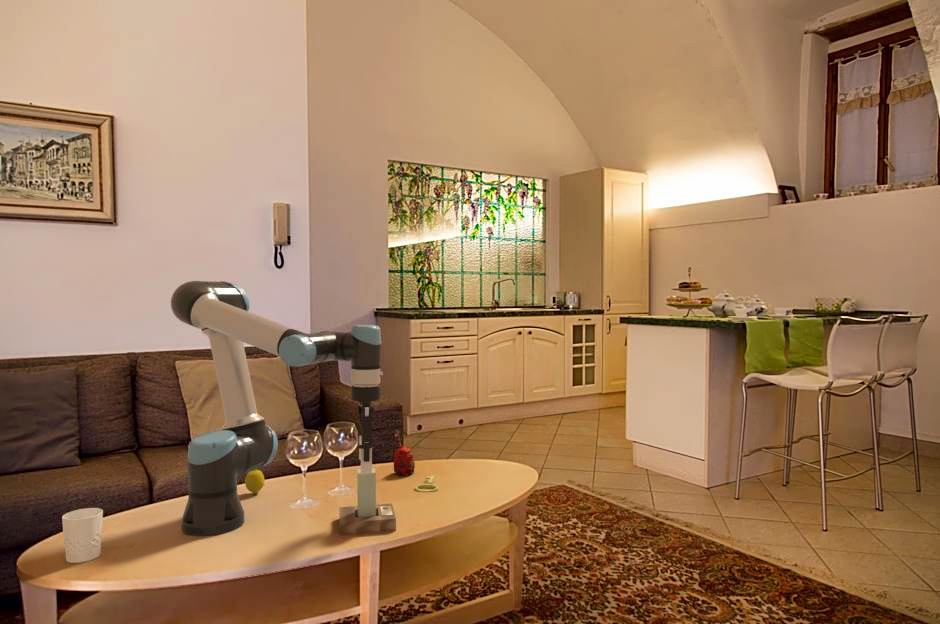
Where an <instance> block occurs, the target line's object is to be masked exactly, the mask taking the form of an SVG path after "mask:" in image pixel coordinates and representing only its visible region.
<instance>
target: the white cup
mask: <svg viewBox="0 0 940 624" xmlns="http://www.w3.org/2000/svg"><path fill="white" fill-rule="evenodd" d="M61 519H62V521H61V522H62V523H61V524H62V535H63V546H64V550H65V560H66V562H67V563H69V564H70V563H71V564H79V563H86V562H89V561H92V560H94V559H96V558H98V557H99V556H100V555H101V554H102V539H103V523H104V522H103V519H104V510H103V509H102V508H99V507H86V508H80V509H76V510H71V511H69V512H66V513H64V514H63V515H62V516H61Z"/></svg>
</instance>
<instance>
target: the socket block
mask: <svg viewBox="0 0 940 624" xmlns="http://www.w3.org/2000/svg"><path fill="white" fill-rule="evenodd" d="M338 509H339V511H338V513H339V514H338V515H339V516H338V521H339V522H338V524H339V525H338V527H339V529H338V531H339V532H338V534H339V536H344V535H353V534H354V535H356V534H357V535H358V534H368V533H379V532H381V533H382V532H391V531H392V532H395V531H397V518H396V513H395V509H394V505H393V503H382V504H381V503H379V504H377V503H376V516H371V517H358V505H353V506H351V505H350V506H340V507H339V508H338Z"/></svg>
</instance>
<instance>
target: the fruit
mask: <svg viewBox="0 0 940 624" xmlns="http://www.w3.org/2000/svg"><path fill="white" fill-rule="evenodd" d="M265 482H266V481H265V476H264V474H263V472H262V471H261V470H260V469H258V470H253V471H250V472H248V473H246V476H245V479H244V484H245V488H246V489H247V490H248V491H249V492H251V493H253V495H257V494H258V493H259V492H260V491H261V489H262V488H263V487H264V485H265Z"/></svg>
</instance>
